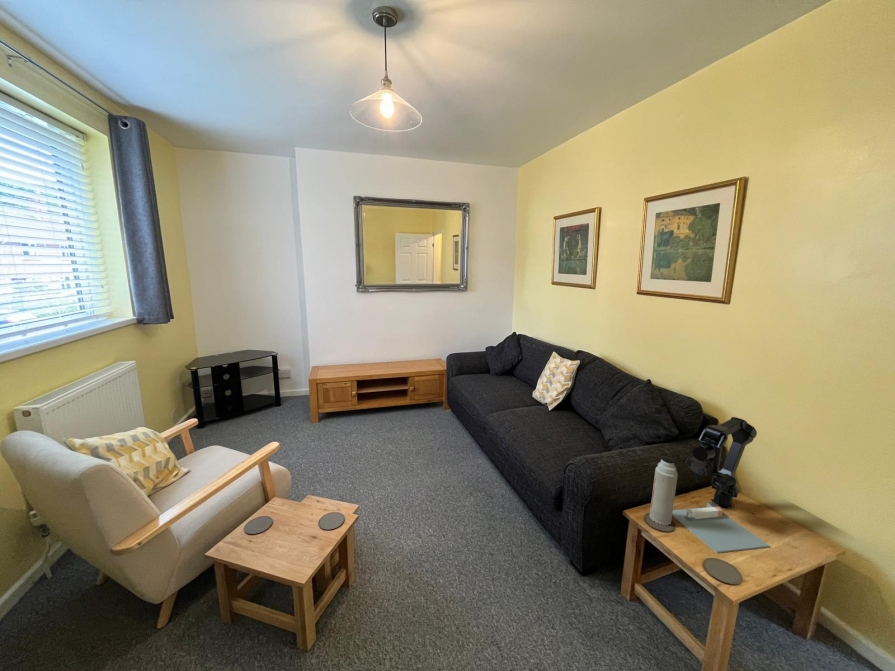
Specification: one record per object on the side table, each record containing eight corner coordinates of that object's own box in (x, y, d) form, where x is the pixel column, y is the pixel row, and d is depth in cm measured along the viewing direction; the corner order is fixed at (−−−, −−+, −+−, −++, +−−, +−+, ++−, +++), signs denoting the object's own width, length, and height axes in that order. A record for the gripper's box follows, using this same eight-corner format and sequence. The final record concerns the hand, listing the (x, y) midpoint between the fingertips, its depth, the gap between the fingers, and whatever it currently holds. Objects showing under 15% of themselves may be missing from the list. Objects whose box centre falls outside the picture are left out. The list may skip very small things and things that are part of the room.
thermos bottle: (647, 518, 149) (654, 458, 145) (652, 510, 155) (660, 452, 151) (668, 528, 144) (676, 465, 140) (673, 519, 149) (681, 458, 145)
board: (713, 507, 158) (713, 506, 158) (769, 547, 135) (769, 545, 135) (667, 511, 154) (667, 510, 154) (716, 552, 131) (716, 551, 131)
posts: (710, 509, 157) (711, 501, 156) (718, 514, 154) (719, 506, 153) (681, 517, 151) (682, 508, 150) (689, 522, 148) (690, 513, 147)
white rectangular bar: (696, 519, 148) (697, 512, 148) (690, 515, 151) (691, 509, 150) (721, 516, 151) (722, 510, 150) (716, 512, 153) (717, 506, 153)
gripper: (678, 447, 157) (674, 478, 160) (718, 468, 139) (712, 503, 142) (698, 445, 160) (693, 476, 162) (740, 465, 142) (734, 500, 144)
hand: (707, 488), depth 153 cm, fingers open, 9 cm apart
